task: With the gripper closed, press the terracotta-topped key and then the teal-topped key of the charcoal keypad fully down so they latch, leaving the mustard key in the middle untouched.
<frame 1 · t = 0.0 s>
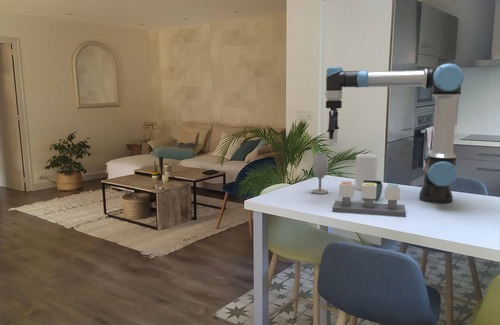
hand: (332, 144, 208), 28 cm above the table, fingers open, 13 cm apart
wineglass: (319, 192, 229), on the table
cup: (365, 189, 236), on the table
keypad: (368, 210, 194), on the table
key terracotta: (346, 189, 195), point 9 cm above the table, slide at 0.0 cm
key mustard: (369, 190, 192), point 9 cm above the table, slide at 0.0 cm
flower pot: (371, 200, 213), on the table
key teal: (392, 191, 190), point 9 cm above the table, slide at 0.0 cm
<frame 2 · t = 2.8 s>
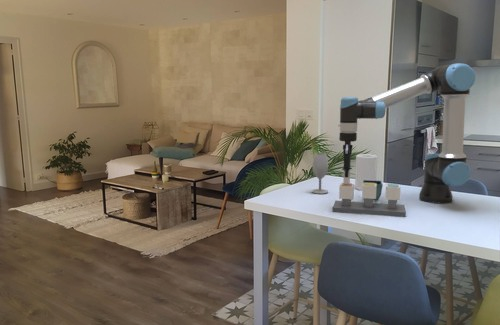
hand: (346, 183, 195), 12 cm above the table, fingers closed
key terracotta: (346, 190, 195), point 9 cm above the table, slide at 0.8 cm, touching gripper
everything else where it was.
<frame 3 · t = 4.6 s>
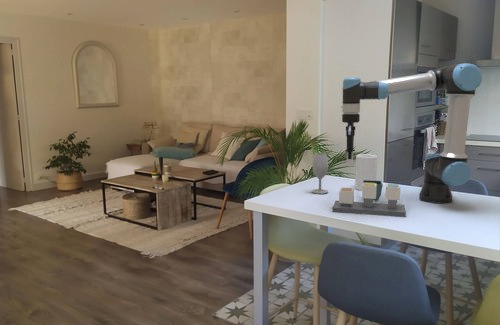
hand: (349, 165, 193), 20 cm above the table, fingers closed
key terracotta: (346, 195, 196), point 6 cm above the table, slide at 3.0 cm
everything else where it was.
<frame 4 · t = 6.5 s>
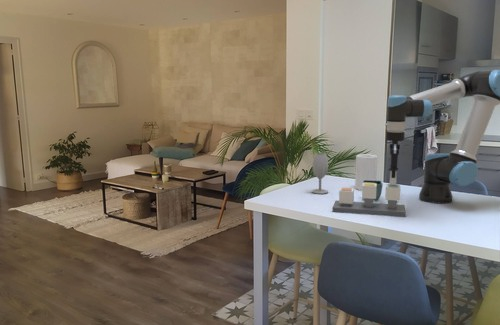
hand: (392, 184, 189), 12 cm above the table, fingers closed
key teal: (392, 191, 190), point 9 cm above the table, slide at 0.2 cm, touching gripper
everything else where it was.
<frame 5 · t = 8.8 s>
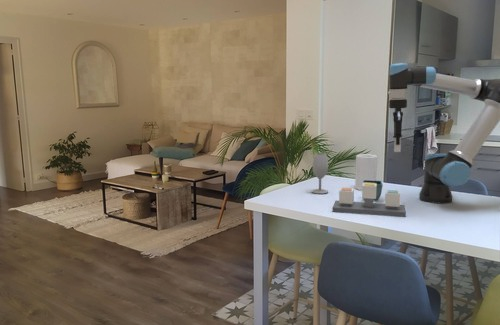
hand: (397, 151, 194), 26 cm above the table, fingers closed
key teal: (392, 198, 190), point 6 cm above the table, slide at 3.0 cm
everything else where it was.
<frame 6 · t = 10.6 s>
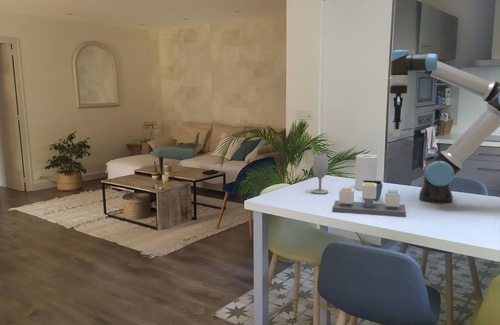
hand: (396, 136, 200), 32 cm above the table, fingers closed
nothing on the table moved.
at the end: key terracotta slide at 3.0 cm; key teal slide at 3.0 cm; key mustard slide at 0.0 cm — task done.
